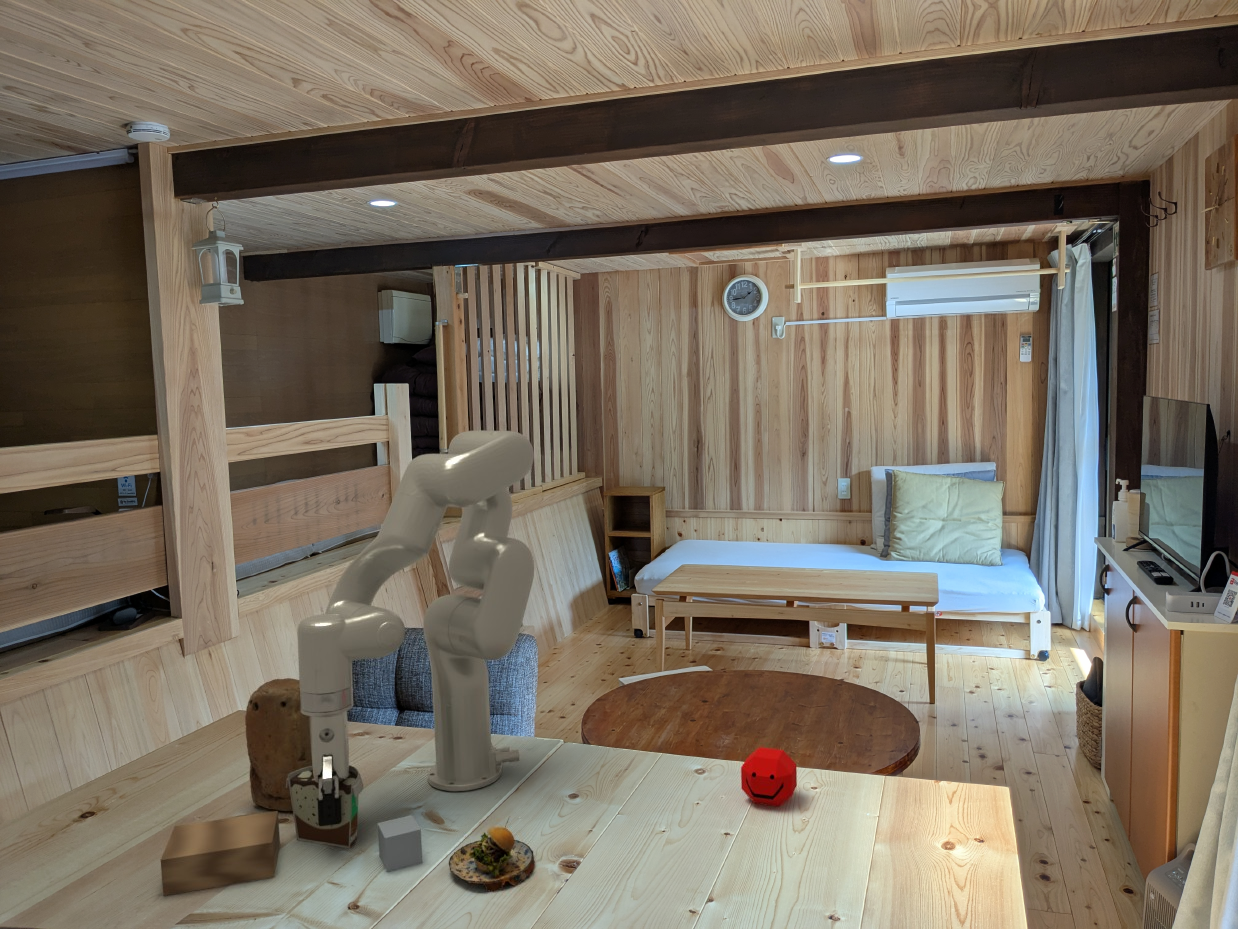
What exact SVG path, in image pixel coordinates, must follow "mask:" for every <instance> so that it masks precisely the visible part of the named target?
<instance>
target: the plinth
mask: <svg viewBox="0 0 1238 929" xmlns="http://www.w3.org/2000/svg"><path fill="white" fill-rule="evenodd" d="M280 838H281V836H280V824H279V810H273V811H268V812H262V813H261V812H260V813H255V814H247V815H240V816H234V817H227V818H222V819H221V818H220V819H213V820H206V821H201V822H200V821H199V822H194V823H188V824H187V823H186V824H181V825H175V826H174V827H173V829H172V832H171V835H170V836H169V839H168V842H167V844H166V846H165V848H164V850H163V854H162V855H161V858H160V870H161V882H162V896H163V897H166V896H172V895H177V894H184V893H189V892H194V891H200V890H206V889H212V888H218V887H224V886H230V885H235V884H242V883H248V882H254V881H260V880H266V879H270V878H275V875H276V868H277V864H278V858H279V852H280V846H281V839H280ZM165 895H166V896H165Z"/></svg>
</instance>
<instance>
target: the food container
mask: <svg viewBox="0 0 1238 929" xmlns="http://www.w3.org/2000/svg"><path fill="white" fill-rule="evenodd" d="M335 775H336V774H332V776H335ZM322 777H323V775H322ZM338 777H339V776H338ZM332 784H334V786H335V782H332ZM287 787H289V789H290V796H291V802H292V809H293V811H292V814H293V821H294V822H293V823H294V827H295V834H296V839H297V841H301V842H307V843H314V844H320V845H321V844H322V845H327V846H334V847H340V848H344V849H351V848H352V847H353V846H355V844H356V842H357V841H358V823H359V822H358V818H359V795H360V794H361V793H362V791H363V789H364V783H363V780H362V776H361V774H360V772H359V769H357V768H356V767H355V766H352V765H350V764H349V776H348V777H347V779H344V778H339V796H340V795H341V816H342V821H341V823H340V824H335V825H328V826H319V824H318V798H319V782H316V781H315V780H314V774H313V766H309V767H305V768H302V769H299V770H296V771H294V772H292V773H290V774H288V778H287V780H286V788H287Z"/></svg>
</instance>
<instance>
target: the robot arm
mask: <svg viewBox="0 0 1238 929" xmlns="http://www.w3.org/2000/svg"><path fill="white" fill-rule="evenodd" d="M534 454H535V453H534V448H533V445H532V443H531V441H530V440H529V439H528V438H527V436H526V435H523V434H522V433H520V432H517V431H512V430H467V431H463V432H460V433H457V434H456V435H455V436H454V437H453V438H452V439H451V441H450V443H449V446H448V452H447V453H425V454H420V455H418V456H416V457H415V458H413V459H412V460H411V461H410V462H409V464H407V467H405V468H406V469H405V471H404V473H403V475H402V477H401V480H400V482H399V484H398V487H397V489H396V491H395V493H394V496H393V499H392V501H391V504H390V505H389V508H388V510H387V513H386V516H385V518H384V520H383V523H382V526H381V528H380V530H379V532H378V534H377V536H376V537H375V538H374V539H373V540H372V541H371V542H370V543H369V544H367V546H366V547H365V548H363V550H362V551H361V552H360V553H359V554H358V555H357V556H356V557H355V558H354V559H353V560H352V561H351V563H350V564H349V565H348V566H347V567H346V569H345V570H344V571H343V572H342V574H341V575H340V577H339V579H338V581H337V582H336V585H335V588H334V590H333V592H332V594H331V597H330V599H329V602H328V604H327V607H326V609H325V612H324V614H321V613H320V614H316V615H315V614H314V615H311V616H310V615H309V616H308V617H305V618H303V619H302V620H301V621H300V622H299V624H298V626H297V653H298V654H297V655H298V680H299V685H300V710H301V713H302V714H304V715H308V716H309V722H310V742H311V755H312V766H313V774H314V780H315V781H316V782H319V798H318V824H319V826H328V825H335V824H340V823H341V821H342V816H341V795H340V796H339V778H344V779H347V777H348V776H349V765H350V753H349V752H350V751H349V750H350V749H349V725H348V723H349V721H348V714H347V712H348V711H349V710H351V709H352V708H353V707H354V690H353V663H352V662H354V661H358V660H371V659H379V658H380V659H381V658H385V657H387V656H389V655H392V654H393V653H395V652H396V651H397V650H398V649H399V648H400V647H401V645H402V644H403V642H404V640H405V636H406V627H405V624H404V621H403V619H402V618H401V617H400V616H399V614H397V613H396V612H394V611H392V610H390V609H386V608H384V607H379V606H374V605H372V603H373V601H374V599H375V597H376V595H377V593H378V592H379V591H380V589H381V587H382V586H383V585H384V583H385V582H387V581H388V580H389V579H390V578H391V577H392V576H394V575H395V574H396V573H398V572H399V571H402V570H403V569H406V568H408V567H410V566H412V565H414V564H416V563H418V562H419V561H422V560H423V559H424V558H425V559H426V557H427V556H428V555H429V553H430V551H431V548H432V546H433V543H434V541H435V538H436V536H437V534H438V532H439V531H438V530H439V528H440V525H441V523H442V520H443V518H444V516H445V514H446V511H447V508H448V507H450V508H462V513H461V514H462V515H461V517H460V518H461V519H460V522H459V525H458V528H457V532H456V535H455V539H454V543H453V546H452V550H451V553H450V557H449V561H448V574H449V576H450V579H451V580H452V581H453V582H454V583H455V584H457V585H458V586H461V587H464V588H468V589H470V590H471V589H472V590H476V591H481V592H482V593H481V598H479V597H474V596H470V595H463V594H454V593H453V594H445V595H442V596H439V597H437V598H436V599H434V600H433V601H432V602H431V603H430V604H429V606H428V607H427V608H426V610H425V614H424V616H423V622H422V624H423V626H422V627H423V635H424V639H425V643H426V644H425V645H426V648H427V649H426V650H427V652H428V653H427V654H428V656H429V664H430V672H431V681H432V682H431V684H432V688H431V689H432V706H433V707H432V708H433V711H432V712H433V725H434V726H433V727H434V729H433V730H434V745H435V746H434V747H435V764H433V765H432V767H430V768H429V770H428V772H427V782H428V783H429V784H430V785H431V786H432V787H433V788H435V789H438V790H441V791H447V792H465V791H466V792H467V791H472V790H477V789H480V788H484V787H487V786H489V785H491V784H493V783H494V782H496V781H497V780H498V779H499V778H500V777H501V775H502V771H503V770H502V769H503V767H502V764H503V763H513V762H514V763H515V762H519V761H520V760H521V758H520V751H519V749H513V750H511V749H510V748H511V747H510V746H506V747H500V748H497V747H494V745H493V743H492V733H491V732H492V731H491V726H492V725H491V710H490V709H491V708H490V706H491V705H490V689H489V687H490V683H489V682H490V680H489V672H488V671H489V670H488V665H487V662H486V661H497V660H500V659H503V658H504V657H506V656H507V655H508V654H509V653H510V652H511V650H512V649H513V648H514V646H515V644H516V642H517V639H518V637H519V635H520V631H521V628H522V624H523V621H524V616H525V614H526V609H527V605H528V602H529V598H530V594H531V590H532V587H533V582H534V576H535V560H534V556H533V554H532V552H531V549H530V548H529V546H527V544H526V543H524V542H523V541H521V540H519V539H517V538H514V537H508V535H509V530H510V526H511V523H512V522H511V520H512V518H513V502H512V496H511V494H510V491H509V487H511V486H513V485H515V484H517V483H518V482H520V481H521V480H523V479H524V478H525V477H526V476H527V474H528V473H529V472H530V470H531V469H532V466H533V465H534V464H533V463H534V459H535V458H534V456H535V455H534ZM332 774H336V775H335V776H332ZM322 775H323V777H322ZM338 776H339V777H338ZM332 782H335V786H334V784H332Z"/></svg>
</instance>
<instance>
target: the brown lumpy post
mask: <svg viewBox="0 0 1238 929" xmlns="http://www.w3.org/2000/svg"><path fill="white" fill-rule="evenodd" d="M244 718H245V719H244V720H245V721H244V722H245V738H246V748H247V749H246V750H247V756H248V760H249V764H250V765H249V782H250V787H249V788H250V794H251V799H252V803H254V804H255V805H258V806H259V807H263V808H265V809H270V810H273V811H281V812H282V811H283V812H291V811H292V812H293V809H292V802H291V796H290V789H289V787H287V788H286V780H287V778H288V774H290V773H292V772H294V771H296V770H299V769H302V768H305V767H309V766H312V755H311V742H310V722H309V716H308V715H304V714H302V713H301V710H300V685H299V679H297V678H291V677H288V678H275V679H271V680H269V681H267V682H265V683H263V684H262V685H260V686H259V687H258V688H257V689H256V690H255V691H253V693H252V694H251V695H250V697H249V700H248V702H247V706H246V712H245V716H244Z"/></svg>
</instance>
